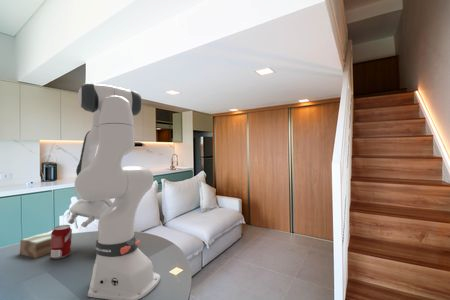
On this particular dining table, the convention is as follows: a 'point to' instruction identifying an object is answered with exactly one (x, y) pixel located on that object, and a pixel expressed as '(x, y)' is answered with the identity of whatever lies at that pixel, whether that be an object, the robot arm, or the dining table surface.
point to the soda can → (61, 241)
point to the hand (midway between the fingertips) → (76, 224)
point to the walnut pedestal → (36, 245)
